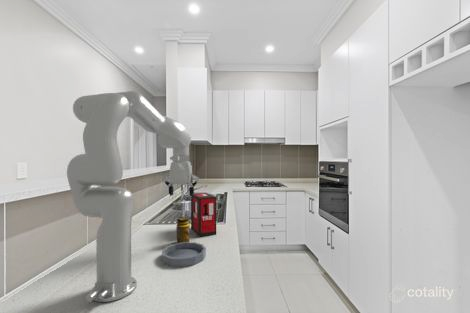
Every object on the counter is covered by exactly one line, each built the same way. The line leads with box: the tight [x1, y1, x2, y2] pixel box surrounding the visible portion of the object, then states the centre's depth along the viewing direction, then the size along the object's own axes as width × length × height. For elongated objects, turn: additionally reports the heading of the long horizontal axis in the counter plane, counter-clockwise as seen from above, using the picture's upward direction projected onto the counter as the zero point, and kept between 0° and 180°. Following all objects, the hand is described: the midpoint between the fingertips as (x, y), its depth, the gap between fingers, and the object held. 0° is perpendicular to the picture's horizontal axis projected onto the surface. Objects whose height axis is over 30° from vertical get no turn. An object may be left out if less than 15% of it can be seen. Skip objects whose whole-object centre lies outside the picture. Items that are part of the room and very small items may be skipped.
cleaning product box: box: [190, 192, 217, 238], centre depth 128 cm, size 16×9×20 cm, turn 27°
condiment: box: [170, 217, 191, 245], centre depth 109 cm, size 7×8×12 cm
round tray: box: [161, 241, 207, 268], centre depth 95 cm, size 17×17×3 cm
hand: (181, 195), depth 110 cm, fingers open, 9 cm apart
